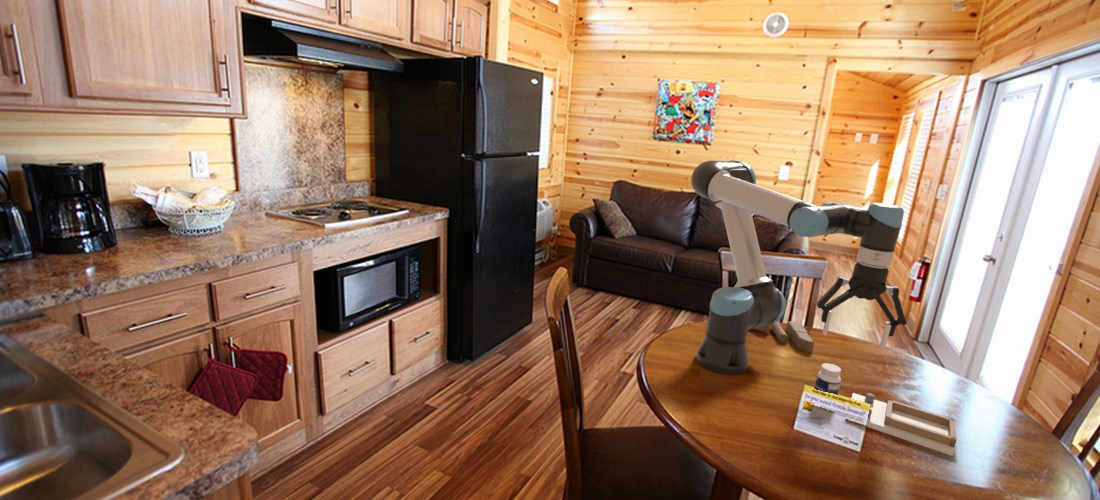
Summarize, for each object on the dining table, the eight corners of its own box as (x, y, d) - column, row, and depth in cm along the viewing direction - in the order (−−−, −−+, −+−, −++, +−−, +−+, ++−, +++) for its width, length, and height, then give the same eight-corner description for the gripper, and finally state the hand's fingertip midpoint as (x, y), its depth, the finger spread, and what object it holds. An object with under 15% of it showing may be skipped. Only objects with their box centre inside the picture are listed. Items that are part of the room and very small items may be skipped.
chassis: (845, 419, 129) (848, 407, 128) (851, 397, 140) (854, 386, 139) (952, 456, 116) (956, 443, 116) (950, 429, 127) (954, 416, 127)
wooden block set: (800, 319, 182) (816, 339, 165) (797, 333, 184) (813, 354, 167) (752, 312, 185) (762, 332, 168) (749, 327, 187) (759, 347, 169)
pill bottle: (808, 394, 140) (815, 361, 138) (827, 394, 141) (834, 362, 138) (820, 405, 135) (828, 372, 132) (840, 405, 135) (848, 372, 133)
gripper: (819, 258, 130) (801, 333, 135) (934, 277, 120) (911, 357, 126) (817, 252, 136) (801, 323, 142) (927, 270, 127) (905, 346, 132)
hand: (852, 339), depth 134 cm, fingers open, 13 cm apart
